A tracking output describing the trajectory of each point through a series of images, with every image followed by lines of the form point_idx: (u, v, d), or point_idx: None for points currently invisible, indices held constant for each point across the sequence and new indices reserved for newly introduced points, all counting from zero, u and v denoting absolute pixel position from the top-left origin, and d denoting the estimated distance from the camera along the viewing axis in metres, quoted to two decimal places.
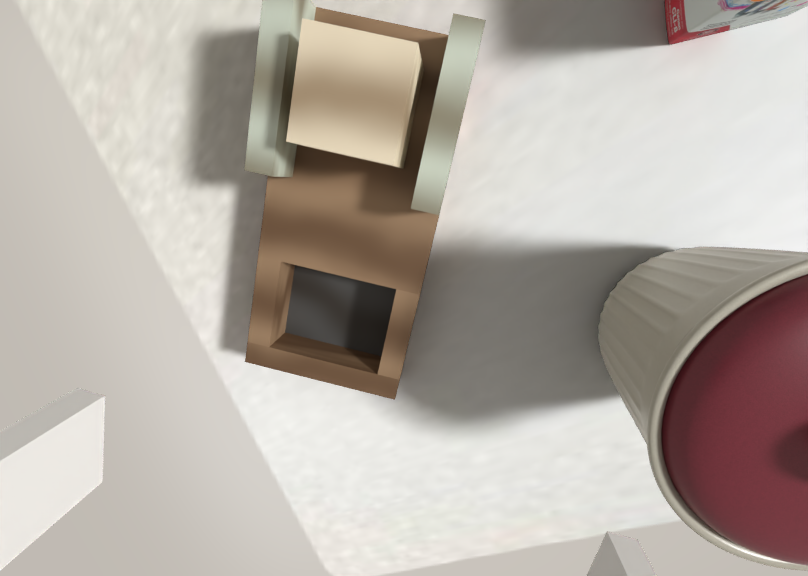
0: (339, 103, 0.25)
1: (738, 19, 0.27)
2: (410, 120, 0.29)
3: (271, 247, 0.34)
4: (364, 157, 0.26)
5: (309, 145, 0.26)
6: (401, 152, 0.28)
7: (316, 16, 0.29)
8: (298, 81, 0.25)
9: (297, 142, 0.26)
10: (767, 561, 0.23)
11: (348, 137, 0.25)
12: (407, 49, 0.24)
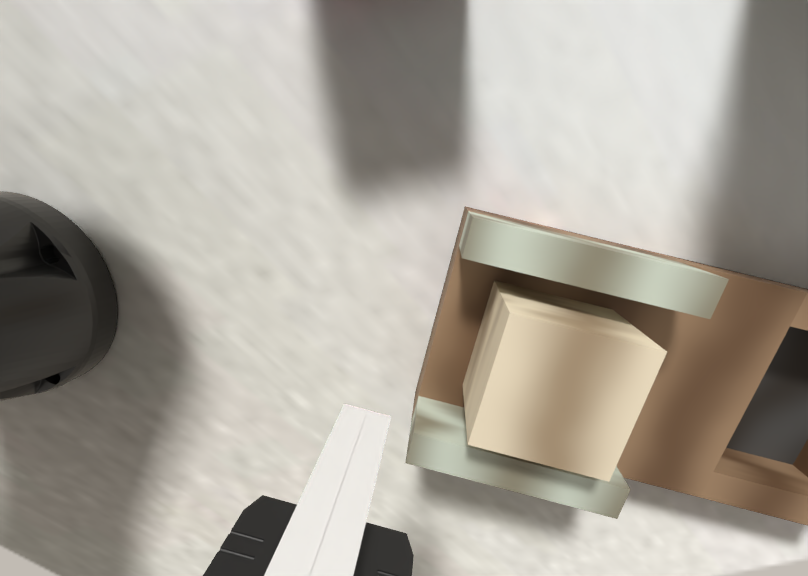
0: (571, 412, 0.19)
1: None
2: (565, 305, 0.22)
3: (691, 479, 0.26)
4: (648, 388, 0.18)
5: (619, 455, 0.19)
6: (618, 324, 0.20)
7: (428, 396, 0.26)
8: (538, 457, 0.20)
9: (612, 468, 0.19)
10: None
11: (617, 406, 0.19)
12: (516, 326, 0.18)
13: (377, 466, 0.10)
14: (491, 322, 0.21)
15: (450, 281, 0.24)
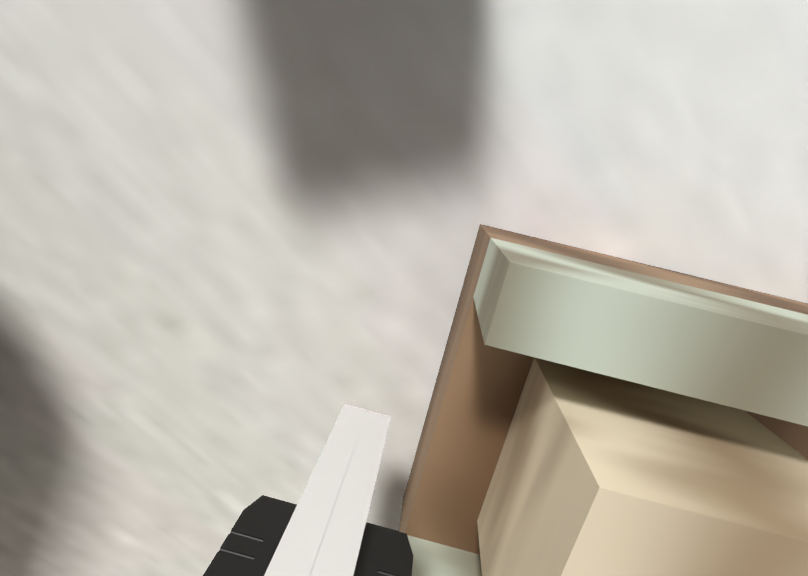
0: None
1: None
2: (673, 414, 0.12)
3: None
4: None
5: None
6: (795, 469, 0.10)
7: (420, 537, 0.16)
8: None
9: None
10: None
11: None
12: (613, 515, 0.08)
13: (377, 466, 0.10)
14: (536, 451, 0.11)
15: (457, 357, 0.14)
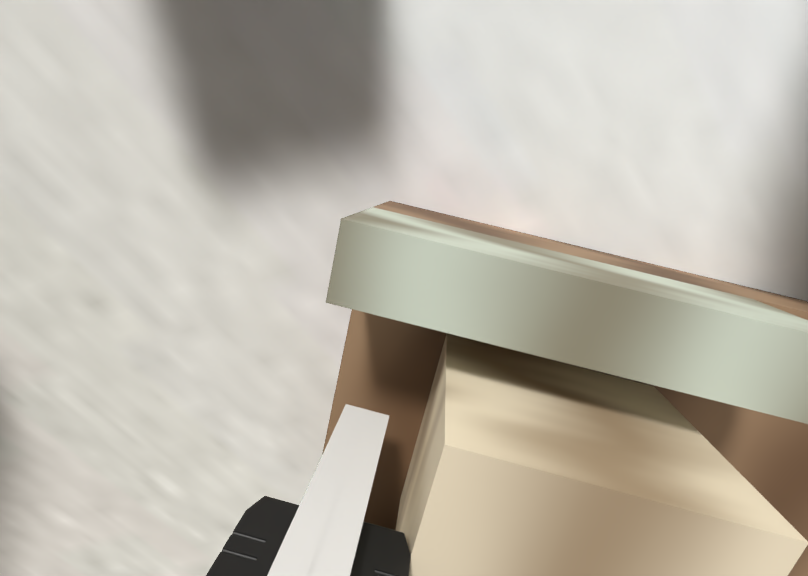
0: None
1: None
2: (570, 387, 0.12)
3: None
4: None
5: None
6: (676, 438, 0.10)
7: None
8: None
9: None
10: None
11: None
12: (460, 473, 0.08)
13: (375, 465, 0.10)
14: (431, 422, 0.11)
15: (350, 328, 0.14)
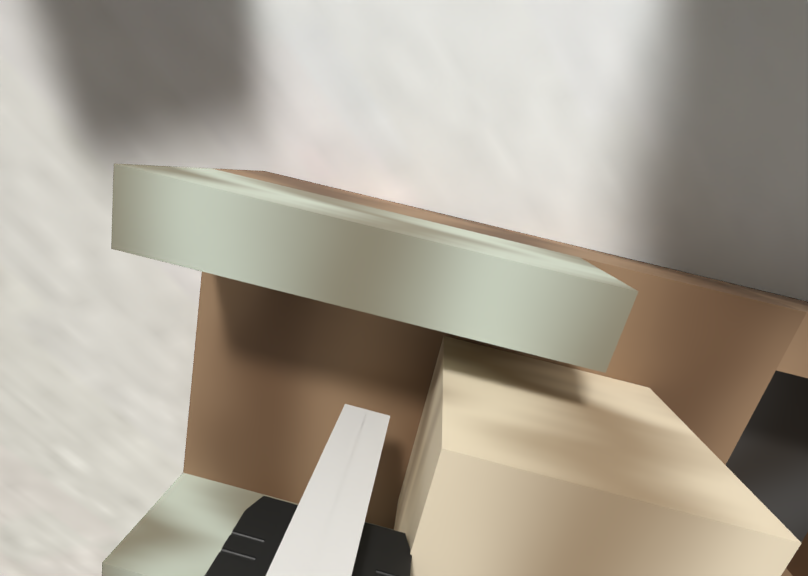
0: None
1: None
2: (567, 389, 0.12)
3: None
4: None
5: None
6: (671, 439, 0.10)
7: (196, 474, 0.16)
8: None
9: None
10: None
11: None
12: (457, 476, 0.08)
13: (376, 466, 0.10)
14: (428, 424, 0.12)
15: (202, 290, 0.14)
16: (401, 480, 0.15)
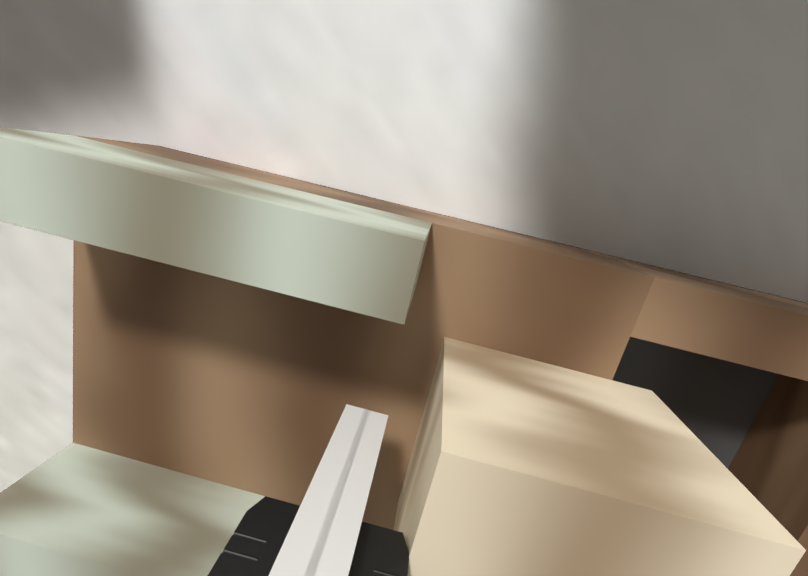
0: None
1: None
2: (568, 391, 0.12)
3: None
4: None
5: None
6: (674, 444, 0.10)
7: (84, 444, 0.16)
8: None
9: None
10: None
11: None
12: (457, 479, 0.08)
13: (374, 465, 0.10)
14: (428, 426, 0.11)
15: (75, 258, 0.14)
16: (281, 449, 0.16)
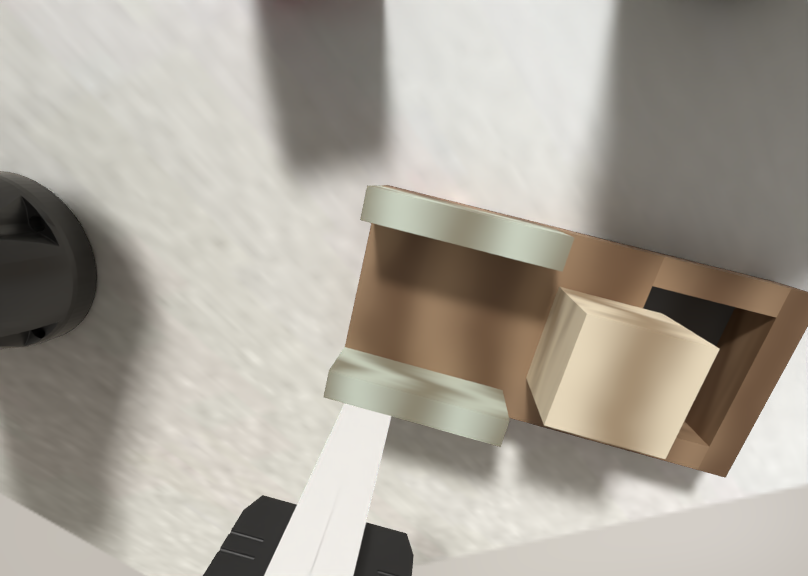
0: (634, 399, 0.22)
1: None
2: (624, 308, 0.25)
3: None
4: (702, 379, 0.22)
5: (675, 436, 0.23)
6: (673, 326, 0.24)
7: (352, 347, 0.30)
8: (604, 437, 0.23)
9: (668, 448, 0.23)
10: None
11: (674, 394, 0.22)
12: (592, 325, 0.22)
13: (377, 466, 0.10)
14: (561, 322, 0.25)
15: (367, 246, 0.28)
16: (464, 348, 0.29)
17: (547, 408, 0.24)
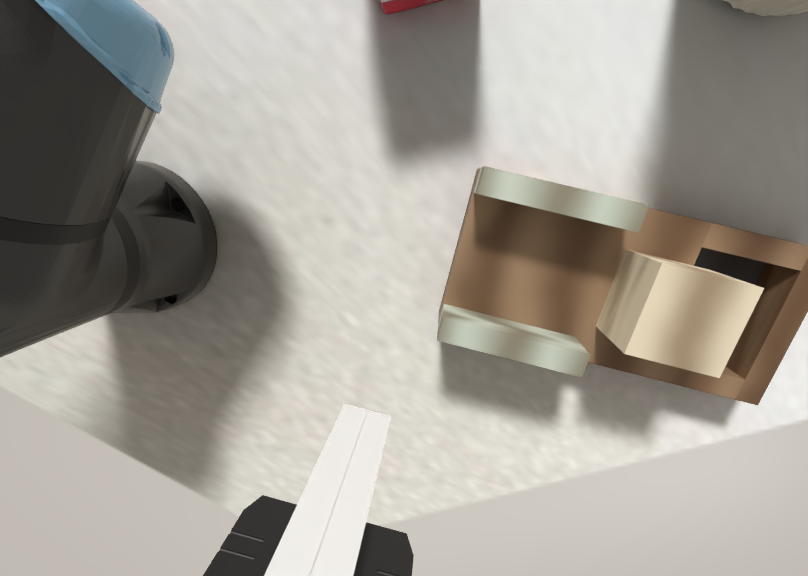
0: (697, 330, 0.29)
1: None
2: (682, 264, 0.32)
3: (638, 363, 0.36)
4: (750, 313, 0.28)
5: (728, 359, 0.29)
6: (723, 275, 0.30)
7: (450, 304, 0.36)
8: (671, 362, 0.30)
9: (722, 368, 0.29)
10: None
11: (728, 325, 0.29)
12: (665, 272, 0.28)
13: (377, 466, 0.10)
14: (632, 275, 0.32)
15: (467, 218, 0.34)
16: (545, 302, 0.36)
17: (626, 340, 0.30)
